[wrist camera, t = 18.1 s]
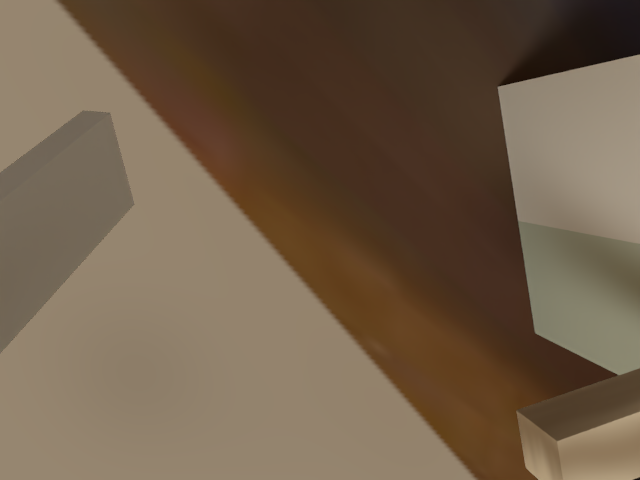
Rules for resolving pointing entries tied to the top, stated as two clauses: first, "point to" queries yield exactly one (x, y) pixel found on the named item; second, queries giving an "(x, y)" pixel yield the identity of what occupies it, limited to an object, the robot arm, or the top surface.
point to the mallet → (585, 432)
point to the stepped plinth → (580, 205)
